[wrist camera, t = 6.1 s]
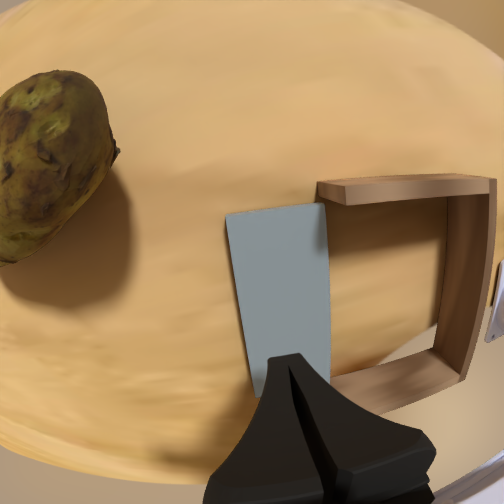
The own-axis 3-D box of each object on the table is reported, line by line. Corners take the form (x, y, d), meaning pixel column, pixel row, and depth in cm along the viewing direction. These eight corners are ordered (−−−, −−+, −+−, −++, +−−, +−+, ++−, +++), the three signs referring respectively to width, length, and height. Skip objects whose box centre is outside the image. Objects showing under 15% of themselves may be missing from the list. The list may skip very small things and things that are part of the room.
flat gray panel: (324, 203, 14) (225, 217, 14) (329, 384, 18) (255, 397, 18) (320, 202, 15) (225, 214, 15) (326, 377, 19) (254, 390, 18)
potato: (-17, 144, 12) (-99, 149, 5) (140, 80, 13) (72, 18, 5) (-1, 258, 15) (-76, 302, 7) (159, 228, 15) (98, 283, 8)
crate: (454, 173, 15) (496, 178, 12) (438, 352, 19) (464, 379, 16) (317, 181, 15) (344, 186, 11) (325, 386, 19) (342, 425, 15)
